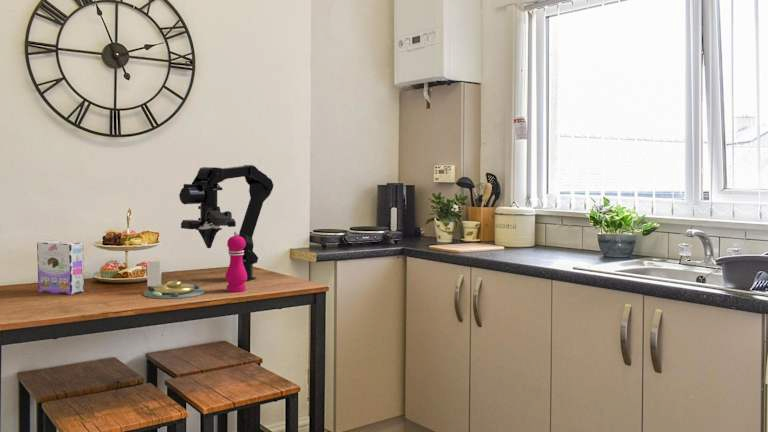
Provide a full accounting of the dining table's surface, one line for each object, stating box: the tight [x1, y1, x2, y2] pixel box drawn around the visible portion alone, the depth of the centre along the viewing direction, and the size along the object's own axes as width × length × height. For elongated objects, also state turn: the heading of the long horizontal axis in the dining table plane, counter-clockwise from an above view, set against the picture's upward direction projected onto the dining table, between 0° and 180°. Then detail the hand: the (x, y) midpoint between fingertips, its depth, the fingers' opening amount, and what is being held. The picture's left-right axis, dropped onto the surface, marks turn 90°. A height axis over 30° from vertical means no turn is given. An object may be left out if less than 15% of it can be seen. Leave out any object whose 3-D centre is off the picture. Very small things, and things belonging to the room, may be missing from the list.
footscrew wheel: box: [146, 260, 195, 294], centre depth 218 cm, size 15×13×9 cm
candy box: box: [36, 240, 85, 295], centre depth 216 cm, size 14×6×16 cm, turn 71°
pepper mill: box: [224, 230, 247, 293], centre depth 224 cm, size 7×7×20 cm
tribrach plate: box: [143, 284, 205, 300], centre depth 218 cm, size 19×19×2 cm
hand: (208, 248), depth 233 cm, fingers closed
